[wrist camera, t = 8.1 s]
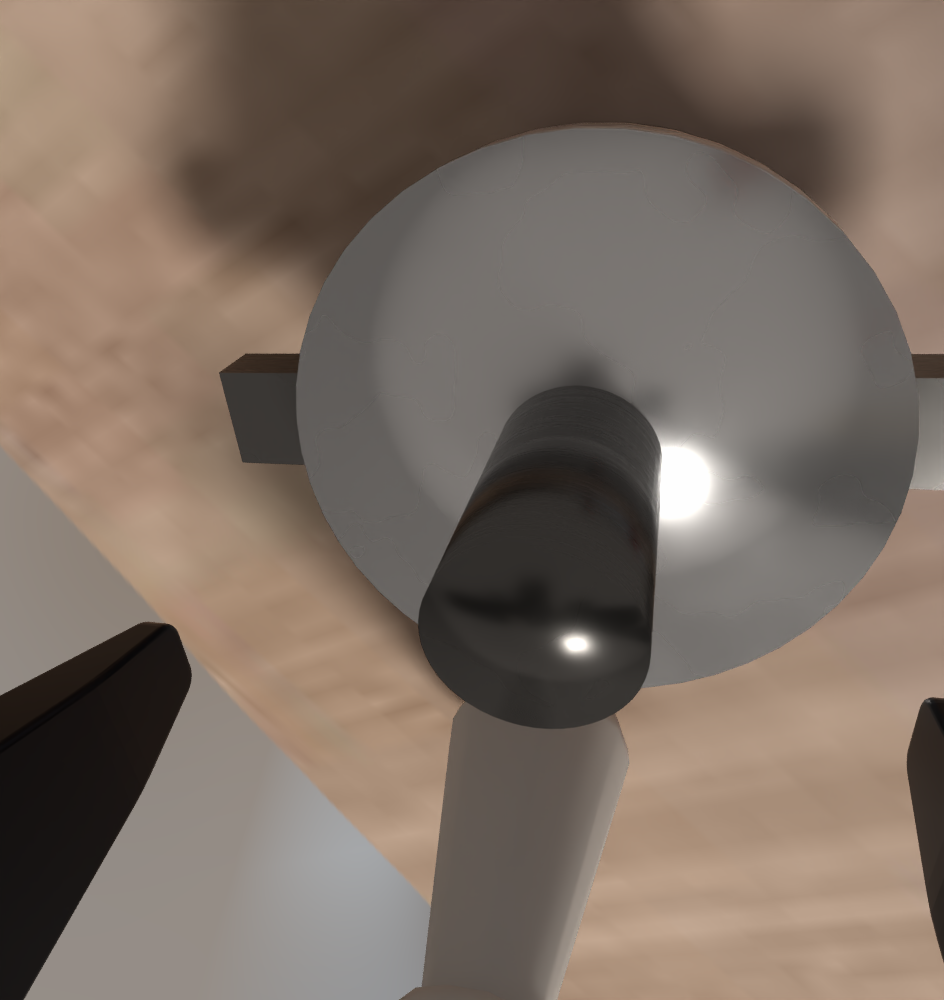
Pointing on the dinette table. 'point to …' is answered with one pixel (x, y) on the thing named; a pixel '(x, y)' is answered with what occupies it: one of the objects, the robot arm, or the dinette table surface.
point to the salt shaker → (517, 854)
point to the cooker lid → (605, 415)
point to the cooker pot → (275, 439)
